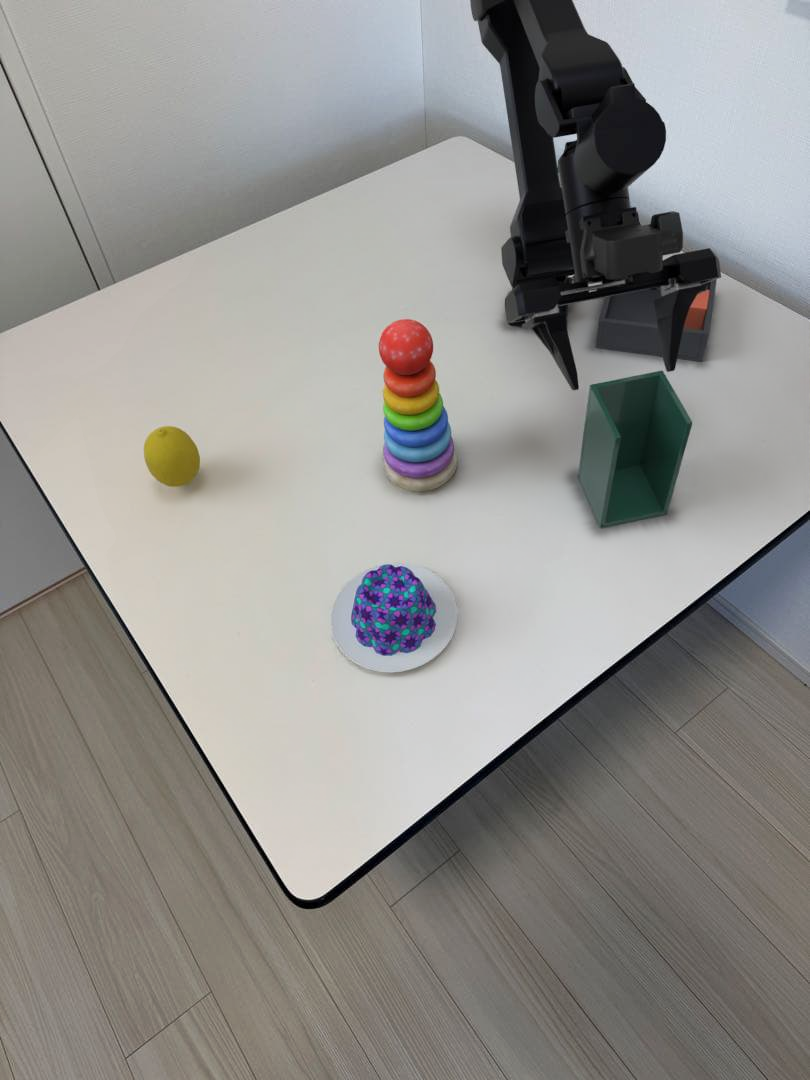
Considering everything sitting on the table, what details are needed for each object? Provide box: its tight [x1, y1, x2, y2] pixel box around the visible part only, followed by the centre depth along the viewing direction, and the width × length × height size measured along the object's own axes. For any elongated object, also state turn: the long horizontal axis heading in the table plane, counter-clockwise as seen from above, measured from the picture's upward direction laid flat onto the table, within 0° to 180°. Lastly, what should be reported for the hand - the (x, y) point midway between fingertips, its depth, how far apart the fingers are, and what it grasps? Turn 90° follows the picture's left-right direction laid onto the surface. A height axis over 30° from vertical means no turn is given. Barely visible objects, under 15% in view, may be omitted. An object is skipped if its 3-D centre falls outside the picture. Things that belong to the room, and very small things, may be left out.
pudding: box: [329, 562, 459, 673], centre depth 75 cm, size 12×12×5 cm
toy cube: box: [684, 290, 710, 330], centre depth 96 cm, size 4×4×4 cm
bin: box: [595, 278, 718, 362], centre depth 98 cm, size 12×12×4 cm
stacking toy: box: [378, 318, 458, 493], centre depth 81 cm, size 8×8×19 cm
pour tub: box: [577, 370, 693, 529], centre depth 79 cm, size 7×7×13 cm
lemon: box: [143, 425, 201, 488], centre depth 87 cm, size 6×6×8 cm
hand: (623, 380), depth 76 cm, fingers open, 9 cm apart
